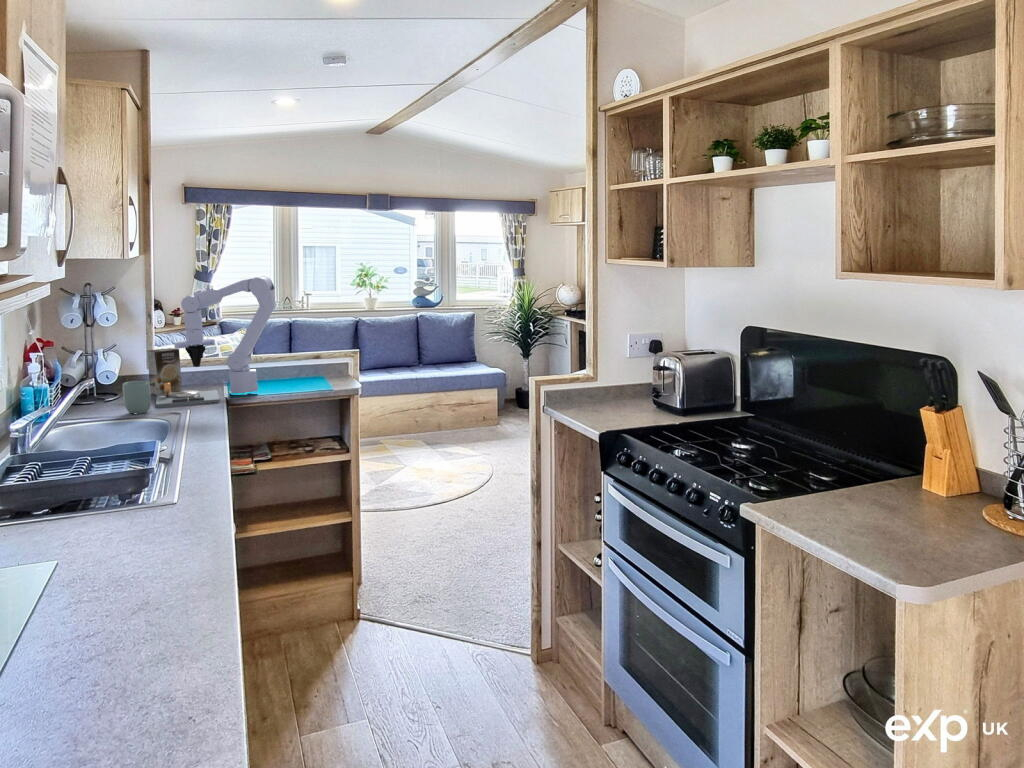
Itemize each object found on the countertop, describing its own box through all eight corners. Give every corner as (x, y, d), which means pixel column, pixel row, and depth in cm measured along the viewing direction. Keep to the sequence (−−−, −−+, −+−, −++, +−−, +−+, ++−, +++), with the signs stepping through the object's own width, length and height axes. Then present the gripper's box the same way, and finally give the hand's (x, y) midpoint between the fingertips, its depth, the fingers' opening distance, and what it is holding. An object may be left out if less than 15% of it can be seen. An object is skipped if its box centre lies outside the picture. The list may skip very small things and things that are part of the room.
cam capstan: (204, 393, 263) (203, 381, 262) (193, 398, 255) (192, 385, 254) (171, 393, 263) (170, 381, 262) (159, 398, 255) (158, 385, 254)
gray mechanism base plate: (217, 393, 271) (216, 385, 271) (220, 402, 255) (219, 394, 255) (157, 397, 263) (156, 389, 263) (156, 407, 247) (155, 399, 247)
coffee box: (159, 395, 267) (155, 351, 264) (150, 393, 271) (145, 350, 268) (183, 391, 274) (179, 348, 271) (173, 389, 278) (169, 347, 275)
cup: (144, 415, 236) (141, 385, 234) (120, 415, 236) (117, 385, 234) (156, 410, 243) (153, 380, 242) (133, 410, 244) (130, 380, 242)
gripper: (206, 326, 272) (208, 362, 275) (168, 330, 261) (171, 367, 263) (217, 328, 268) (219, 364, 271) (179, 331, 257) (182, 369, 259)
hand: (196, 366), depth 267 cm, fingers closed
